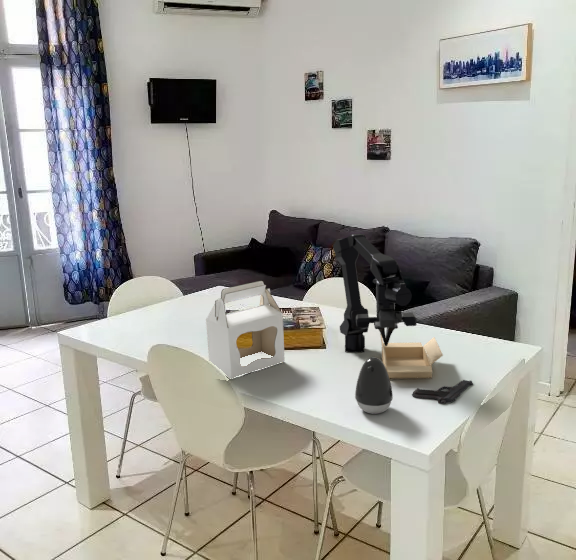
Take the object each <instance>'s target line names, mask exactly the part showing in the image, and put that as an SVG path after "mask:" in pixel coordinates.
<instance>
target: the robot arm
mask: <svg viewBox="0 0 576 560" xmlns="http://www.w3.org/2000/svg"><path fill="white" fill-rule="evenodd" d="M332 250H333V252H334V255H335V259H336V260H337V261H338V262H339V264H340V266H341V271H342V272H341V273H342V279H343V286H344V292H345V293H344V294H345V300H346V308H345V311H344V312H343V321H342V323H341V324H340V325H339V332H340V333H341V334H342V335H344V352H345V353H362V352H365V350H364V349H366V341H365V339H366V338H365V336H366V335H364V333H368V331H369V325H370V324H373V326H374V329H375V330H378V332H379V333H380V334H381V335H382V339H383V343H384V344H385V346H387V345H388V343H390V339H391V336H392V333H393V332H394V331H395V330H396V329H398V328H399V325H398V324H401V323H404V326H406V327H416V326H417V317H416V315H415V313H414V312H402V311H399V310H398V311H396V310H395V309H396V308H395V307H396V305H397V306H401V307H406V306H407V305H409V304H410V302H411V301H412V297H413V296H412V292H411V289H410V288H409V287H407V283H405V279H404V275H403V273H402V270H401V269H400V266H399V264H398V262H397V260H396V259H394V258H393V257H392V256H390V255H387V254H384V253H382V252H381V251H380V250H378V249H377V248H376V246H374V245H373V244H372V242H370V241H369V240H368V239H367V237H366V235H365V234H364V233H363V234H362V233H357V234H355V233H354V234H351V235H349V236H347V237H343V238H340V239H339V238H338V239H336V240H335V242H334V243H333V246H332ZM359 255H360V256H361V257H362V258H363V259H364V260H365V261H366V262H367V263H368V264H369V265H370V272H371V273H372V275H373V276H374V277H375V278H374V279H373V280H372V283H374V284H375V286H376V287H375V290H376V291H375V293H376V294H375V295H376V297H375V301H376V316H370V315H369V310H368V309H367V308H365V307H364V305H362V300H361V294H360V286H359V281H358V280H359V278H358V271H357V265H356V263H357V260H358V259H359ZM395 304H396V305H395ZM385 329H386V330H385ZM381 335H380V336H381Z"/></svg>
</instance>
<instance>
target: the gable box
mask: <svg viewBox="0 0 576 560" xmlns="http://www.w3.org/2000/svg"><path fill="white" fill-rule="evenodd" d="M266 287H267V285H266V284H264V281H262V280H258V281H253V282H250V283H243V284H240V285H235V286H231V287H227V288H223V289H222V290H221V293H220V297H219V298H217V299H216V300H215V301H214V303H213V306H212V308H211V310H210V311H209V313H208V315H207V317H206V319H205V321H206V322H205V324H206V325H205V326H206V335H207V337H206V339H207V340H206V341H207V350H208V351H207V353H208V362H209V361H211V362H212V363H213V364H214V365H216V366H217V367H218V368H219V369H221V370H222V371H223V372H224V373H225V374H226V375H227V376H228V377H229V378H231V379H232V378H234V377H236V376H239V375H242V374H245V373H249V372H252V371H255V370H258V369H262V368H265V367H268V366H271V365H274V364H277V363H280V362H284V361H285V358H286V357H285V342H284V341H285V339H284V315H283V312H282V309H281V308H280V307H279V305H278V304H277V302H276V300H275V299H274V297H273V296H272V293H271V288H269V287H268V288H266ZM257 296H260V297H259V298H260V299H259V305H257V306H253V307H249V308H245V309H241V310H237V311H234V312H233V311H232V312H229V313H227V311H226V306H225V305H226V304H229V303H231V302H236V301H239V300H243V299H248V298H253V297H257ZM250 332H251V333H252V334H251V340H252V345H251V346H250V347H249V348H238V345H237V339H238V338H239V337H240V336H241V335H242V334H246V333H250ZM261 351H262V352H264V353H266V354H268V355H271V356H273V357H271V358H261V359H257V360H255V361H253V362H251V363H250V364H248V365H247V366H241V364H240V358H242V357H245V356H248V355H252V354H255V353H258V352H261ZM284 363H285V362H284ZM229 378H228V379H229ZM231 379H230V380H231Z"/></svg>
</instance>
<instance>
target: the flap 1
mask: <svg viewBox="0 0 576 560" xmlns="http://www.w3.org/2000/svg"><path fill="white" fill-rule="evenodd" d="M379 336H380V340H381V350H382V349H383V354H384V359H385V363H386V364H387V362H386V354H385V348H384V341H383V338H382V335H381V333H380V335H379Z"/></svg>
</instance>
